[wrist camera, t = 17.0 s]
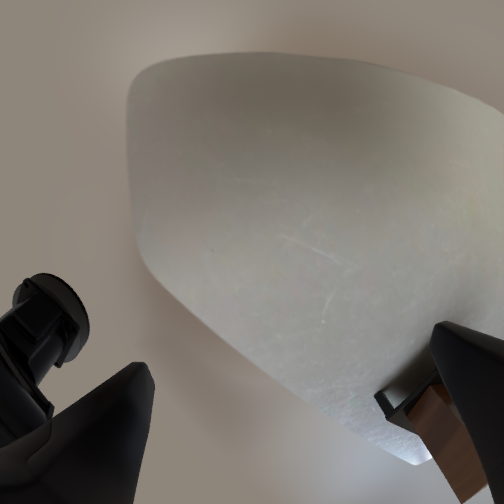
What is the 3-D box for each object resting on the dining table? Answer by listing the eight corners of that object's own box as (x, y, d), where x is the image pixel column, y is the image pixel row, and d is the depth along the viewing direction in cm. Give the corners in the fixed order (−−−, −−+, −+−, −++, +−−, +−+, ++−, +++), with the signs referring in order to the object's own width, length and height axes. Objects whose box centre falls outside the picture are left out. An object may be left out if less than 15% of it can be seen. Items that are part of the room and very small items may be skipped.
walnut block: (406, 416, 21) (461, 504, 9) (429, 384, 20) (498, 473, 7) (431, 412, 22) (484, 487, 9) (452, 382, 21) (516, 457, 8)
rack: (430, 429, 30) (444, 450, 25) (372, 396, 25) (392, 430, 20) (473, 387, 29) (490, 406, 24) (437, 331, 23) (466, 358, 18)
